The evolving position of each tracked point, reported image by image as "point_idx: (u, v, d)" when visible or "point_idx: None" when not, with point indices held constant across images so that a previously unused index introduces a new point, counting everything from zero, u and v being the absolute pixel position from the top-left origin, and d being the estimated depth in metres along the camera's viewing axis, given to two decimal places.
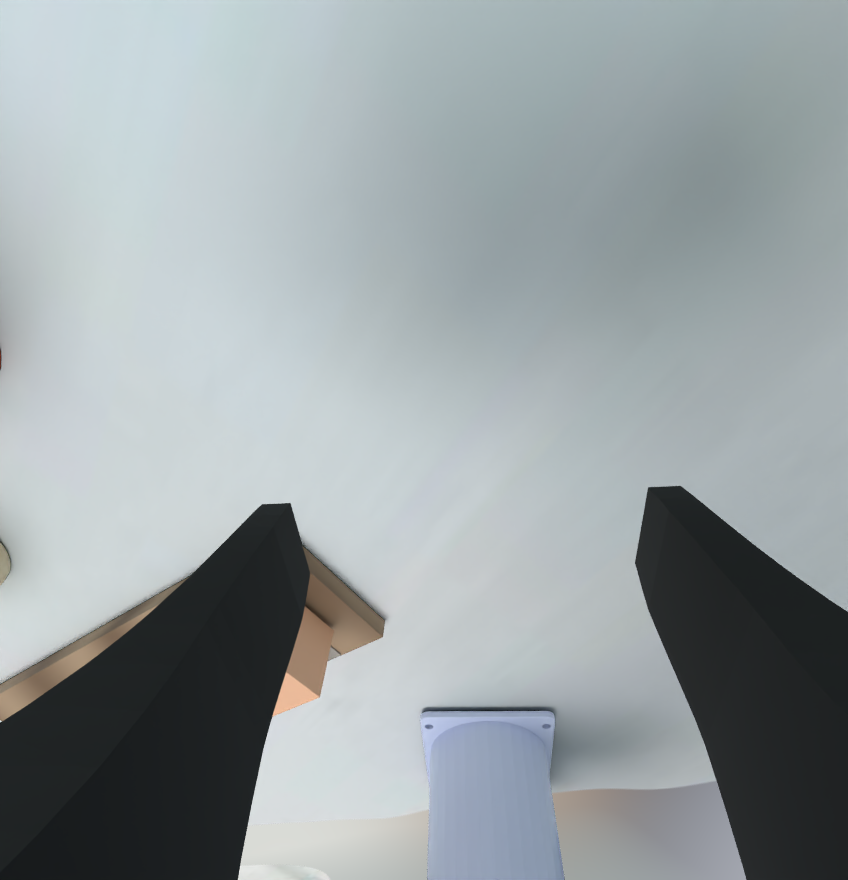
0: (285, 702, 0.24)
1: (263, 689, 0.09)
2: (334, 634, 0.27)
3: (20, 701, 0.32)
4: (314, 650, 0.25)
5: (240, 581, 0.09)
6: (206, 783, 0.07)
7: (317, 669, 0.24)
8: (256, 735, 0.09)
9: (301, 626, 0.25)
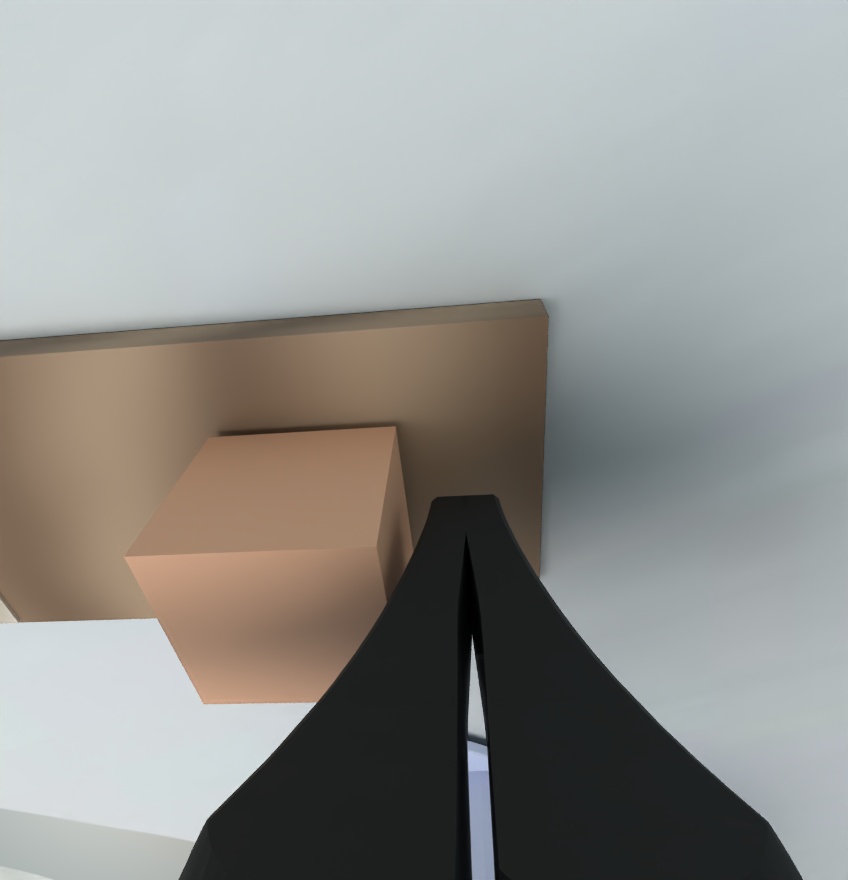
0: (316, 686, 0.10)
1: (466, 686, 0.09)
2: None
3: None
4: None
5: (462, 574, 0.08)
6: (464, 783, 0.07)
7: None
8: (466, 732, 0.09)
9: (402, 534, 0.11)
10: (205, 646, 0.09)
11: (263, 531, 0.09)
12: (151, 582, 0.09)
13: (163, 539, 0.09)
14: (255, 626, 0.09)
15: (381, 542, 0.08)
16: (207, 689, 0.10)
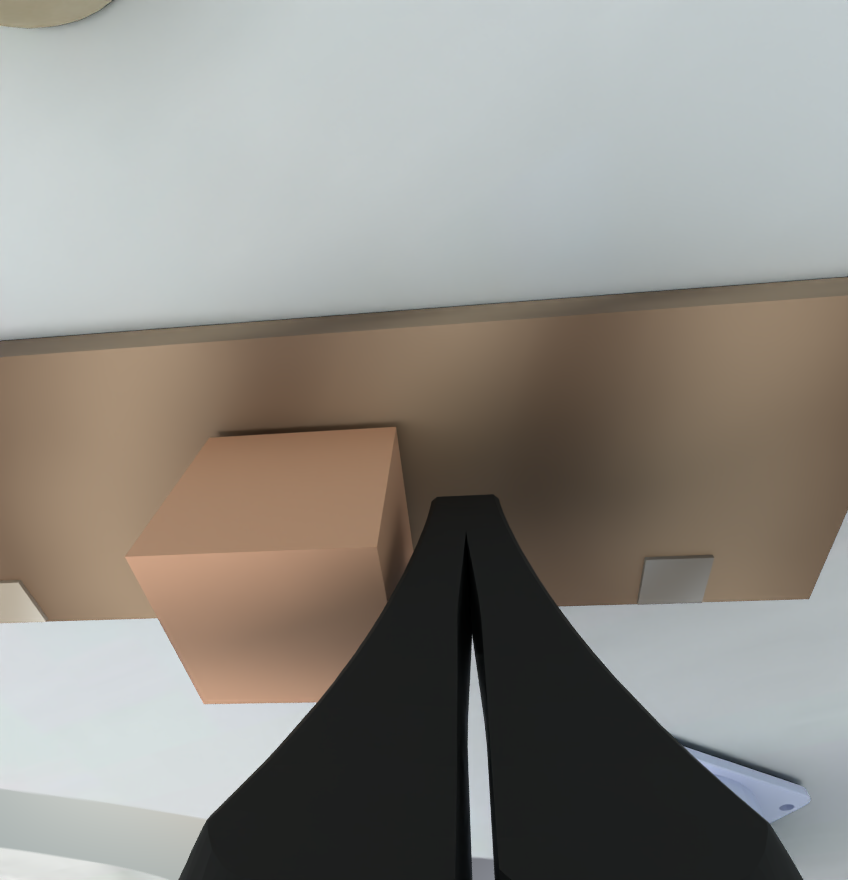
0: (317, 686, 0.10)
1: (466, 686, 0.09)
2: (741, 559, 0.13)
3: None
4: None
5: (462, 574, 0.08)
6: (464, 783, 0.07)
7: None
8: (466, 732, 0.09)
9: (403, 534, 0.11)
10: (205, 646, 0.09)
11: (264, 531, 0.09)
12: (152, 582, 0.09)
13: (164, 539, 0.09)
14: (255, 626, 0.09)
15: (381, 542, 0.08)
16: (207, 689, 0.10)
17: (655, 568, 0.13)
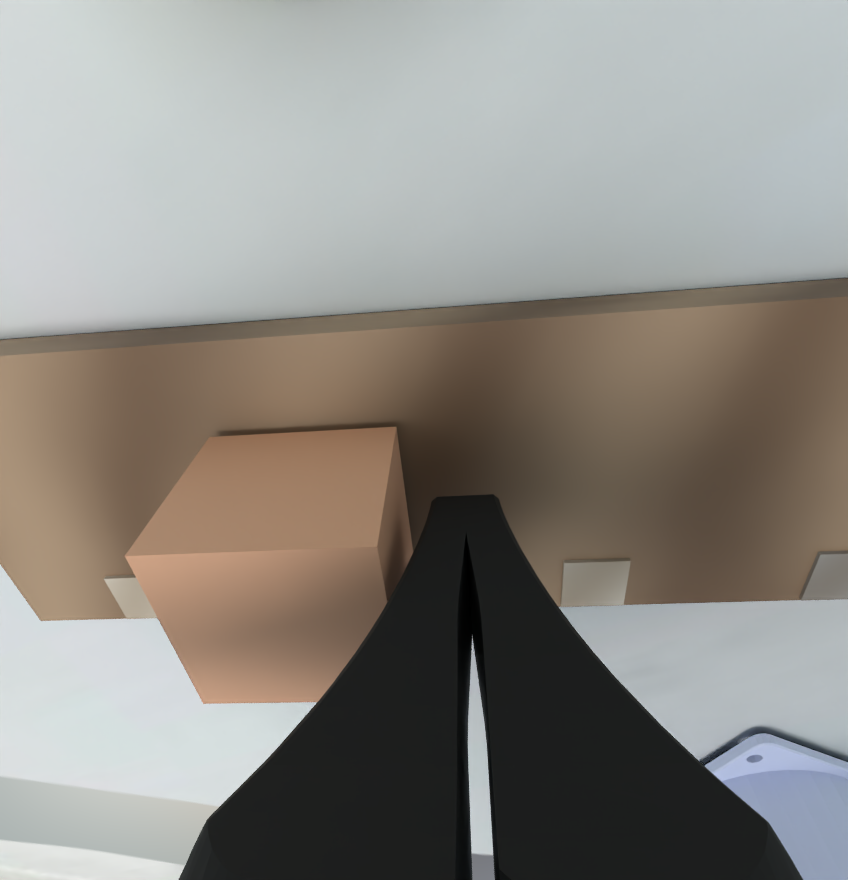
0: (317, 686, 0.10)
1: (466, 686, 0.09)
2: None
3: (22, 405, 0.11)
4: None
5: (462, 574, 0.08)
6: (464, 783, 0.07)
7: None
8: (466, 732, 0.09)
9: (402, 534, 0.11)
10: (205, 645, 0.09)
11: (264, 530, 0.09)
12: (153, 581, 0.09)
13: (164, 538, 0.09)
14: (255, 626, 0.09)
15: (382, 542, 0.08)
16: (207, 689, 0.10)
17: (827, 563, 0.13)
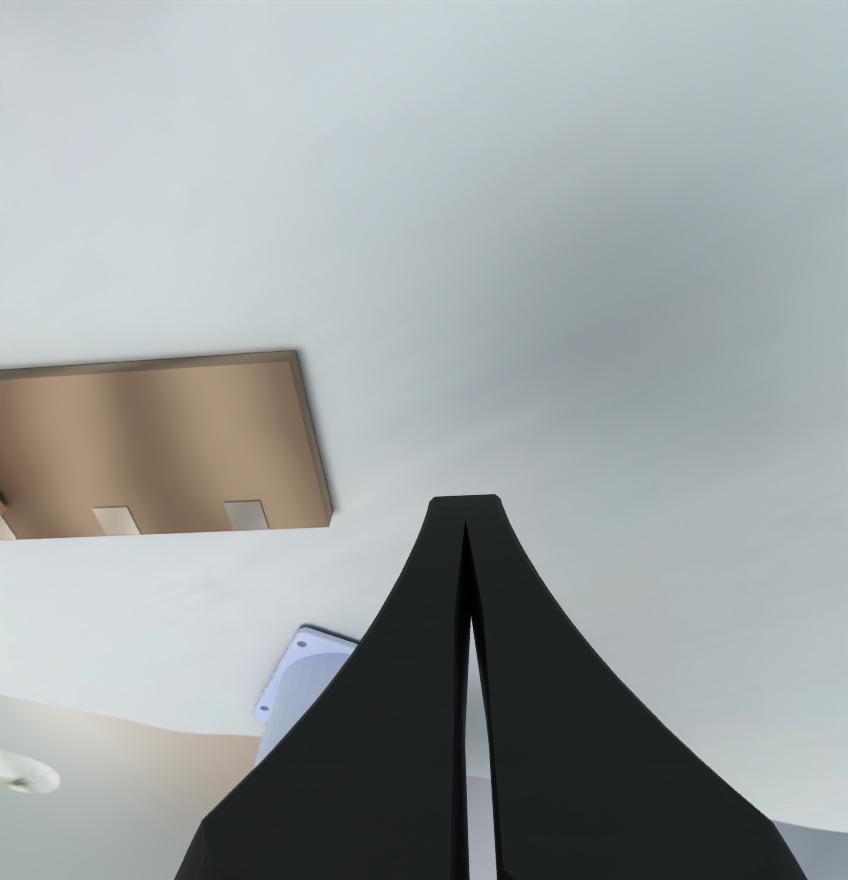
0: None
1: (463, 686, 0.09)
2: (277, 502, 0.23)
3: None
4: None
5: (459, 574, 0.08)
6: (461, 783, 0.07)
7: None
8: (463, 732, 0.09)
9: None
10: None
11: None
12: None
13: None
14: None
15: None
16: None
17: (231, 508, 0.23)
